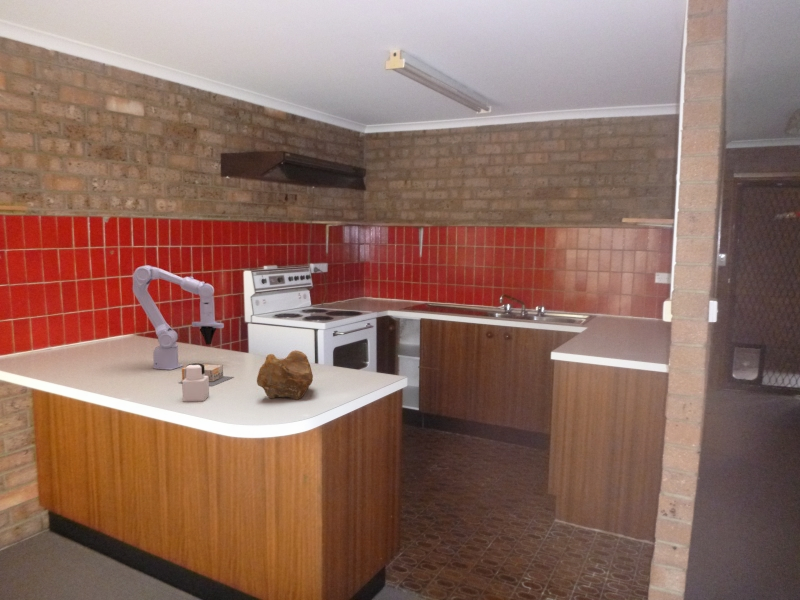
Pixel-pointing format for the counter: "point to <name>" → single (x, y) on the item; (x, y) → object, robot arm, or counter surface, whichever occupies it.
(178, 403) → the counter surface
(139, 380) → the counter surface
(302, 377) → the rough brown rock
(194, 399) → the medicine bottle
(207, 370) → the supplement box
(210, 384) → the mat
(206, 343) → the robot arm
